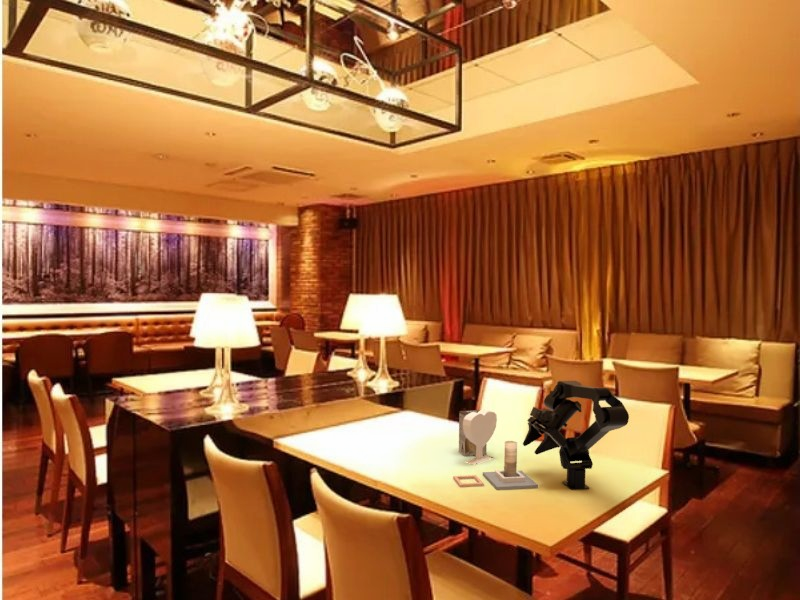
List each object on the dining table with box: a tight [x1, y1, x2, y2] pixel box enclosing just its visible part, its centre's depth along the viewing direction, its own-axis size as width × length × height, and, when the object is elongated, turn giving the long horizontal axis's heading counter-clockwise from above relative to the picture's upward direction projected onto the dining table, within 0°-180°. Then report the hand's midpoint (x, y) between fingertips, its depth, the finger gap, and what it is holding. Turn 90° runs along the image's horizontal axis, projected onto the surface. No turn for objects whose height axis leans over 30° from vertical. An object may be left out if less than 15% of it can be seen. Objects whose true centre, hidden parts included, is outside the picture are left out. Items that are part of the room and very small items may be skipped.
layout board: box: [482, 469, 539, 491], centre depth 191 cm, size 14×14×2 cm
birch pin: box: [503, 440, 518, 477], centre depth 191 cm, size 4×4×12 cm
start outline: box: [452, 474, 485, 488], centre depth 189 cm, size 8×8×1 cm
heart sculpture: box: [463, 409, 498, 465], centre depth 212 cm, size 16×5×18 cm, turn 134°
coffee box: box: [458, 409, 487, 457], centre depth 221 cm, size 9×6×16 cm
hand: (529, 449), depth 192 cm, fingers open, 9 cm apart
